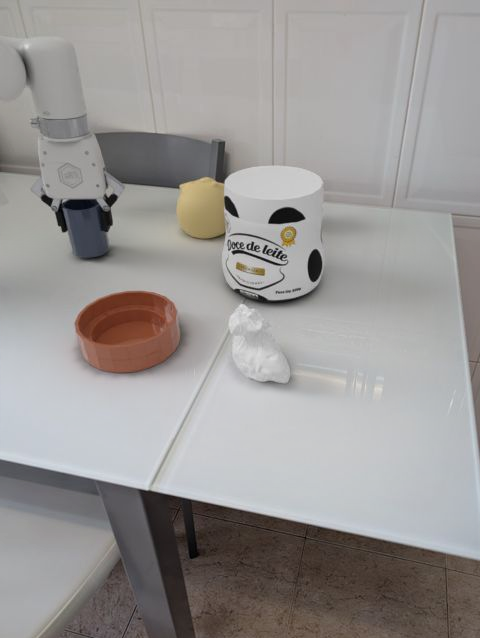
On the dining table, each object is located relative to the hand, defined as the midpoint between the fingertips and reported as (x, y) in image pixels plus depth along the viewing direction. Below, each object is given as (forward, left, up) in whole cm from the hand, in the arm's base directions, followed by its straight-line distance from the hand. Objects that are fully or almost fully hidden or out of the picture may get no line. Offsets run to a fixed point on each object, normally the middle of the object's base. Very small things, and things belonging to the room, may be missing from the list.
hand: (86, 228), depth 91 cm
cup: (0, 0, -4) cm, 4 cm away
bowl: (+12, -29, -6) cm, 32 cm away
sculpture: (+22, +9, -6) cm, 24 cm away
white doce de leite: (+34, -13, -6) cm, 36 cm away
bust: (+30, -36, -6) cm, 47 cm away
